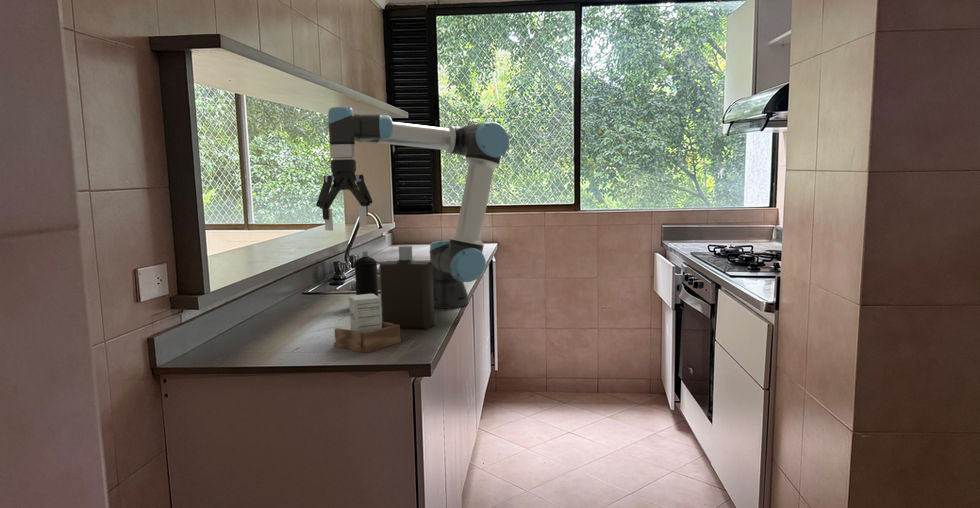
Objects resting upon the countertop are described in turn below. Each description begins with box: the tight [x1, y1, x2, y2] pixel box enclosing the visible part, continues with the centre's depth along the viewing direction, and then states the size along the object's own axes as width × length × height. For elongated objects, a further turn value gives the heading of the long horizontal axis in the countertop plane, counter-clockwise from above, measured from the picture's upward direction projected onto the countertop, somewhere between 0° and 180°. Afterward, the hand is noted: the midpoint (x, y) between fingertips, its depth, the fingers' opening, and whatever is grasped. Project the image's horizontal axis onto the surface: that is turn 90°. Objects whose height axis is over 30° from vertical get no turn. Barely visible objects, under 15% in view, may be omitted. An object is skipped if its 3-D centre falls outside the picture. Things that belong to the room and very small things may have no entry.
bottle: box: [379, 245, 436, 330], centre depth 201 cm, size 8×16×25 cm, turn 74°
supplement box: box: [348, 294, 382, 333], centre depth 181 cm, size 7×7×13 cm
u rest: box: [333, 322, 402, 354], centre depth 182 cm, size 13×13×5 cm
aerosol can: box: [353, 250, 379, 297], centre depth 233 cm, size 8×8×20 cm
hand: (346, 228), depth 200 cm, fingers open, 13 cm apart
